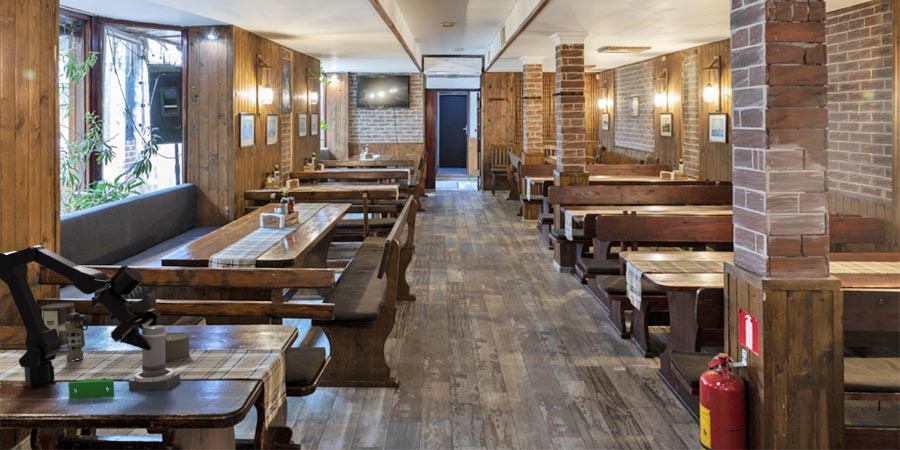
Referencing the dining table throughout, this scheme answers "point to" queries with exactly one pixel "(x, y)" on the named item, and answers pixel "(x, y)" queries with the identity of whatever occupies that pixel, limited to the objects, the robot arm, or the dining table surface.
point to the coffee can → (58, 319)
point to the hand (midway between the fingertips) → (157, 345)
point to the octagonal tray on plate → (154, 381)
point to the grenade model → (75, 336)
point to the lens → (154, 351)
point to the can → (176, 346)
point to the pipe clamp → (91, 389)
